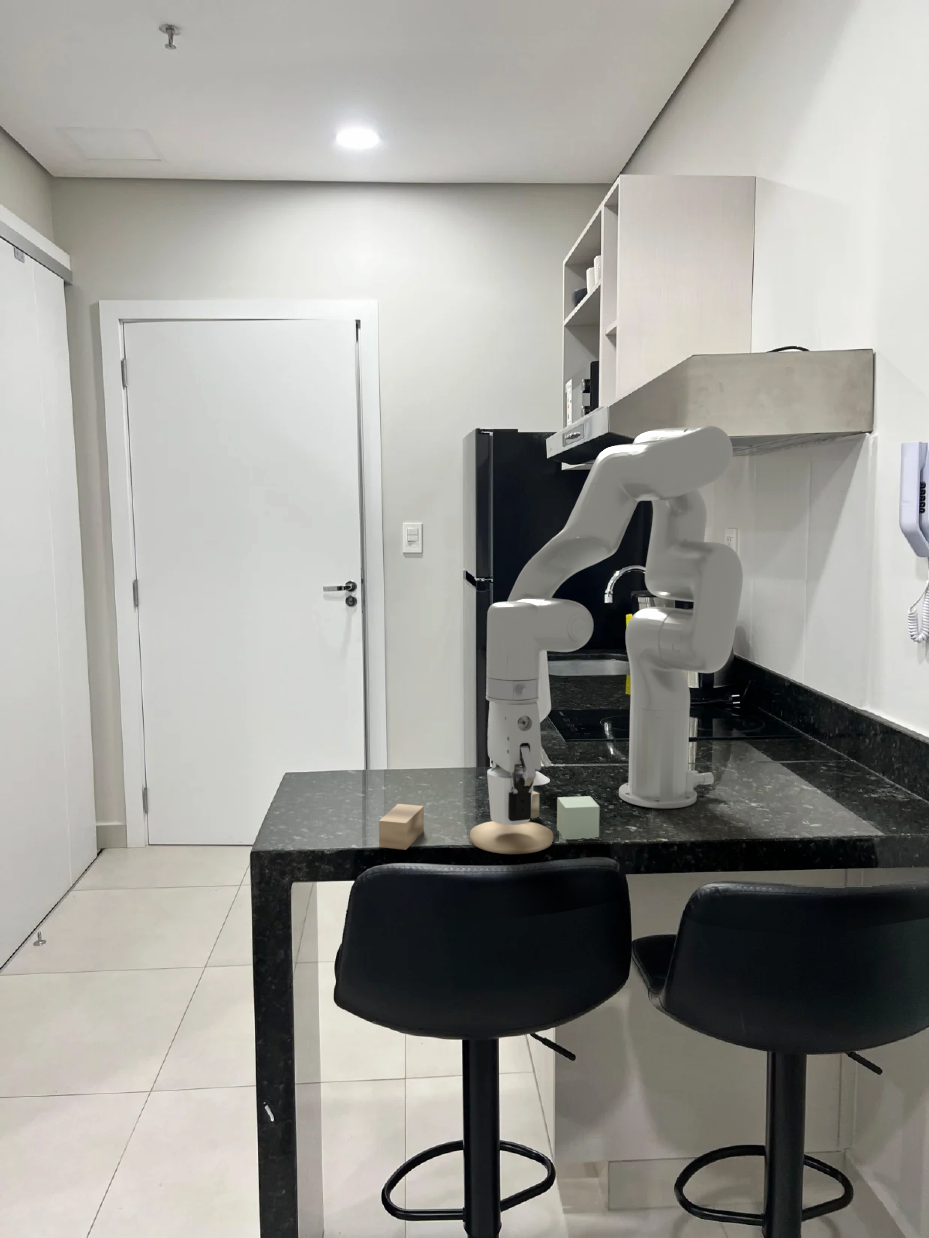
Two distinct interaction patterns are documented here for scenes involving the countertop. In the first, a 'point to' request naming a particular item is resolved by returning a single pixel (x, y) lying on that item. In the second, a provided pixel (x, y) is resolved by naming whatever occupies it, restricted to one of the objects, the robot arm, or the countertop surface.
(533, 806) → the birch cube
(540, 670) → the champagne flute
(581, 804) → the sage painted cube
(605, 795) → the countertop surface
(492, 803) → the shot glass
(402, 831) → the oak brick
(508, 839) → the cork trivet
